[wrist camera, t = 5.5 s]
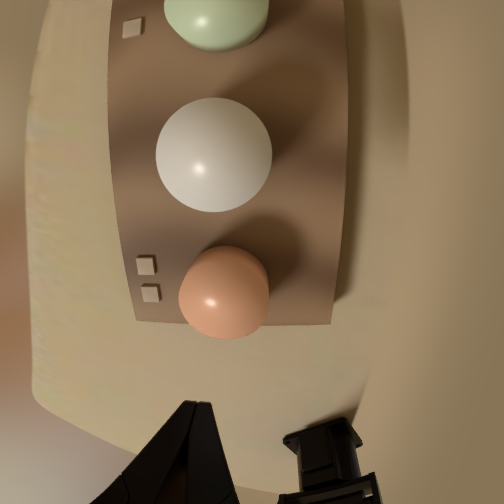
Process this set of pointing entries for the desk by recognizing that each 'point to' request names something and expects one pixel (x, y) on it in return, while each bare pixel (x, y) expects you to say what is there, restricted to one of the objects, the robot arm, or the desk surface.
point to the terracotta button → (225, 293)
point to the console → (283, 154)
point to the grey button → (213, 154)
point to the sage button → (217, 22)
